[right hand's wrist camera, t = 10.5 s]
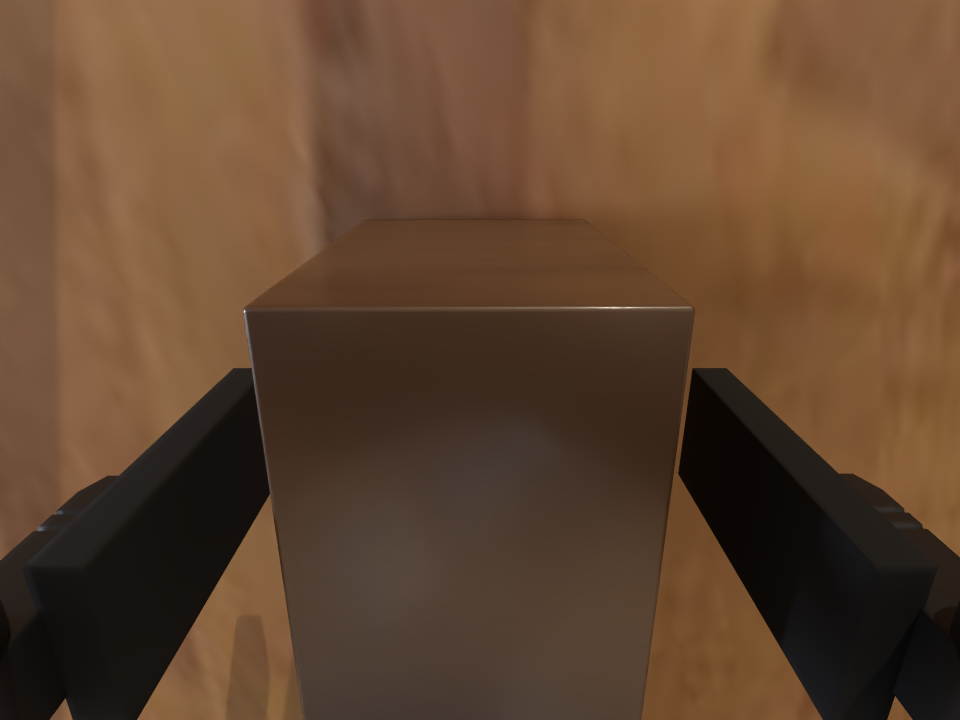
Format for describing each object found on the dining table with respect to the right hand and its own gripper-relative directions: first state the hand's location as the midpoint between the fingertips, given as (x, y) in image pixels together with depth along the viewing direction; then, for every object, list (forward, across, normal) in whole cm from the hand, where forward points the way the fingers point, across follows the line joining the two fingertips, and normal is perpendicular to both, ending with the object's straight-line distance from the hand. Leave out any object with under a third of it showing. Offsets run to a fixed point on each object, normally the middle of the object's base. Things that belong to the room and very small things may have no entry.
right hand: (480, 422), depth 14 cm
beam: (+2, 0, -27) cm, 27 cm away
